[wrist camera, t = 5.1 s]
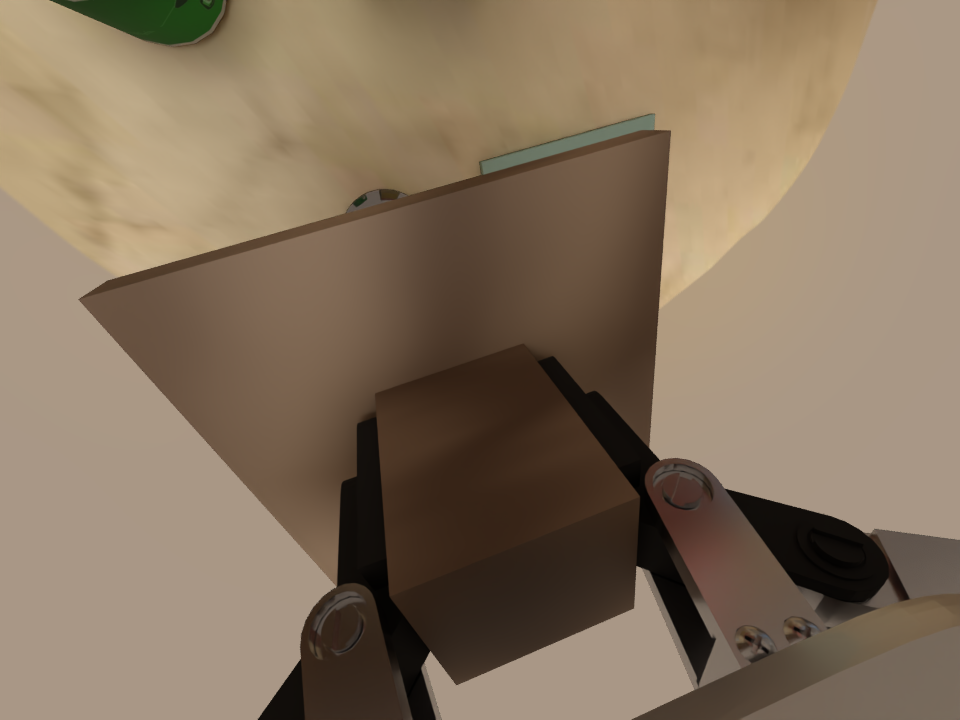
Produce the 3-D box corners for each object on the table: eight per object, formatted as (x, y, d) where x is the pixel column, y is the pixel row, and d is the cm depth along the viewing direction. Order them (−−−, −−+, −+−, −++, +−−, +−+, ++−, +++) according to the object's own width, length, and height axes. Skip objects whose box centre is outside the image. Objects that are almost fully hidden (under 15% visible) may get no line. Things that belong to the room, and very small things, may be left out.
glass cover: (641, 129, 9) (988, 137, 4) (631, 460, 16) (756, 614, 11) (107, 280, 8) (-335, 562, 3) (347, 571, 14) (343, 801, 10)
